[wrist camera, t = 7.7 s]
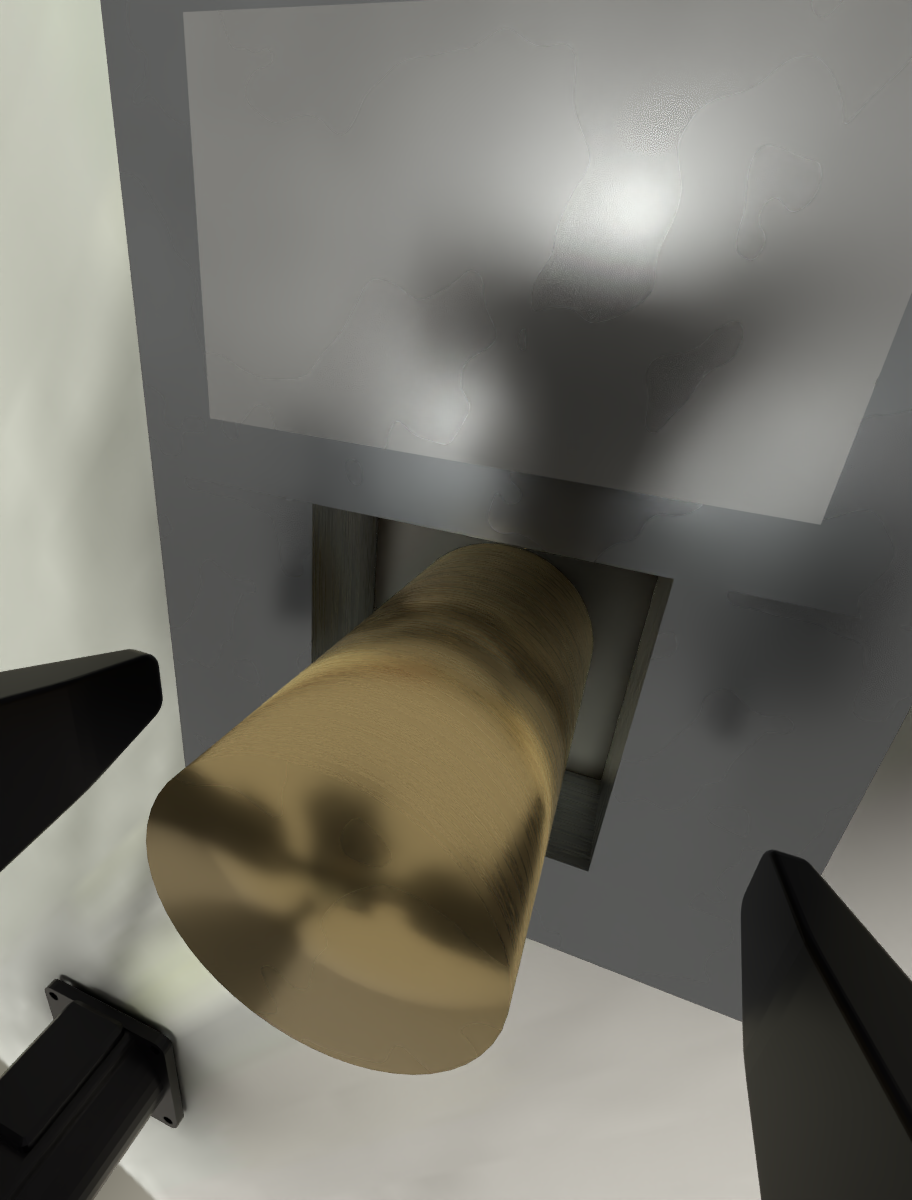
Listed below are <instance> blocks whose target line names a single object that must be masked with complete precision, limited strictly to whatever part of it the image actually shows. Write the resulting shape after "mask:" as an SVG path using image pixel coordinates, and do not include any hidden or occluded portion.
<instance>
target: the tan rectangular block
mask: <svg viewBox="0 0 912 1200" xmlns="http://www.w3.org/2000/svg"><path fill="white" fill-rule="evenodd" d="M592 652H593V632H592V625H591V621H590V618H589V614H588V611H587V609H586V607H585V604H584V602H583V600H582V598H581V597H580V595H579V593H578V592H577V590H576V589H575V587H574V586H573V585H572V584H571V582H570V581H569V580H568V579H567V578H566V577H565V576H564V575H563V574H562V573H561V572H560V571H559V570H558V569H557V568H555V567H554V566H553V565H551V564H550V563H549V562H547V561H546V560H544V559H542V558H541V557H539V556H537V555H535V554H533V553H531V552H528V551H526V550H524V549H521V548H517V547H513V546H510V545H503V544H488V543H483V544H475V545H469V546H465V547H462V548H459V549H456V550H454V551H451V552H449V553H447V554H446V555H444V556H442V557H441V558H439V559H438V560H437V561H435V562H434V563H433V564H432V565H430V566H429V567H428V568H427V569H426V570H424V571H423V572H422V573H421V574H420V575H418V576H417V577H416V578H415V579H413V580H412V581H411V582H410V583H409V584H407V585H406V586H405V587H404V588H403V589H401V590H400V591H399V592H398V593H397V594H395V595H394V596H393V597H392V598H390V599H389V600H388V601H387V602H386V603H384V604H383V605H382V606H381V607H380V608H378V609H377V610H376V611H375V612H373V613H372V614H371V615H370V616H369V617H367V618H366V619H365V620H364V621H363V622H361V623H360V624H359V625H358V626H357V627H355V628H354V629H353V630H352V631H350V632H349V633H348V634H347V635H346V636H344V637H343V638H342V639H341V640H340V641H338V642H337V643H336V644H335V645H334V646H332V647H331V648H330V649H329V650H327V651H326V652H325V653H324V654H323V655H321V656H320V657H319V658H318V659H317V660H315V661H314V662H313V663H312V664H310V665H309V666H308V667H307V668H306V669H304V670H303V671H302V672H301V673H300V674H298V675H297V676H296V677H295V678H294V679H292V680H291V681H290V682H289V683H287V684H286V685H285V686H284V687H283V688H281V689H280V690H279V691H278V692H277V693H275V694H274V695H273V696H272V697H271V698H269V699H268V700H267V701H266V702H264V703H263V704H262V705H261V706H260V707H258V708H257V709H256V710H255V711H254V712H252V713H251V714H250V715H249V716H247V717H246V718H245V719H244V720H243V721H241V722H240V723H239V724H238V725H237V726H235V727H234V728H233V729H232V730H231V731H229V732H228V733H227V734H226V735H224V736H223V737H222V738H221V739H220V740H218V741H217V742H216V743H215V744H214V745H212V746H211V747H210V748H209V749H208V750H206V751H205V752H204V753H203V754H201V755H200V756H199V757H198V758H197V759H195V760H194V761H193V762H192V763H191V764H189V765H188V766H187V767H186V768H184V769H183V770H182V771H181V772H180V773H178V774H177V775H176V776H175V777H174V778H172V779H171V780H170V781H169V782H168V783H167V784H166V785H165V786H164V788H163V789H162V790H161V792H160V793H159V794H158V796H157V798H156V800H155V802H154V804H153V806H152V808H151V812H150V816H149V820H148V824H147V837H146V845H147V856H148V862H149V866H150V871H151V875H152V879H153V881H154V884H155V887H156V890H157V893H158V895H159V898H160V900H161V902H162V904H163V906H164V908H165V910H166V912H167V914H168V916H169V918H170V919H171V921H172V923H173V925H174V926H175V928H176V930H177V931H178V933H179V934H180V936H181V937H182V938H183V940H184V941H185V943H186V944H187V946H188V947H189V948H190V950H191V951H192V952H193V953H194V955H195V956H196V957H197V958H198V960H199V961H200V962H201V963H202V964H203V966H204V967H205V968H206V969H207V970H208V971H209V972H210V973H211V974H212V975H213V976H214V977H215V978H216V980H217V981H218V982H219V983H221V984H222V985H223V986H224V987H225V988H226V989H227V990H228V991H229V992H230V993H231V994H232V995H233V996H234V997H236V998H237V999H238V1000H239V1001H240V1002H242V1003H243V1004H244V1005H245V1006H247V1007H248V1008H249V1009H250V1010H251V1011H253V1012H254V1013H255V1014H257V1015H258V1016H260V1017H261V1018H262V1019H264V1020H265V1021H267V1022H268V1023H269V1024H271V1025H272V1026H274V1027H276V1028H277V1029H279V1030H280V1031H282V1032H284V1033H285V1034H287V1035H288V1036H290V1037H292V1038H294V1039H295V1040H297V1041H299V1042H301V1043H303V1044H305V1045H307V1046H309V1047H310V1048H313V1049H315V1050H317V1051H319V1052H322V1053H324V1054H326V1055H328V1056H331V1057H333V1058H336V1059H339V1060H342V1061H344V1062H347V1063H350V1064H353V1065H357V1066H360V1067H364V1068H368V1069H372V1070H377V1071H383V1072H388V1073H396V1074H410V1075H416V1074H433V1073H438V1072H443V1071H449V1070H452V1069H455V1068H457V1067H460V1066H463V1065H466V1064H467V1063H469V1062H471V1061H472V1060H474V1059H476V1058H477V1057H479V1056H481V1055H482V1054H483V1053H484V1052H485V1051H486V1050H487V1049H488V1048H489V1047H490V1046H491V1045H492V1044H493V1043H494V1041H495V1040H496V1038H497V1037H498V1035H499V1034H500V1032H501V1031H502V1029H503V1026H504V1023H505V1020H506V1018H507V1015H508V1011H509V1007H510V1003H511V999H512V994H513V990H514V986H515V982H516V977H517V973H518V969H519V965H520V960H521V956H522V952H523V948H524V943H525V939H526V935H527V931H528V926H529V922H530V918H531V914H532V909H533V905H534V901H535V897H536V892H537V888H538V884H539V880H540V875H541V871H542V867H543V863H544V858H545V854H546V850H547V846H548V841H549V837H550V833H551V829H552V824H553V820H554V816H555V812H556V807H557V803H558V799H559V795H560V790H561V786H562V782H563V778H564V773H565V769H566V765H567V761H568V756H569V752H570V748H571V744H572V739H573V735H574V731H575V727H576V722H577V718H578V714H579V710H580V705H581V701H582V697H583V693H584V688H585V684H586V680H587V676H588V671H589V667H590V663H591V658H592Z"/></svg>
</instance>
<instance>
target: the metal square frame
mask: <svg viewBox="0 0 912 1200" xmlns="http://www.w3.org/2000/svg"><path fill="white" fill-rule="evenodd" d="M100 1H101V10H102V19H103V28H104V37H105V46H106V55H107V64H108V73H109V82H110V91H111V100H112V109H113V118H114V127H115V136H116V145H117V154H118V163H119V172H120V181H121V190H122V199H123V208H124V217H125V226H126V235H127V244H128V253H129V262H130V271H131V280H132V289H133V298H134V307H135V316H136V325H137V334H138V343H139V352H140V361H141V370H142V379H143V388H144V397H145V406H146V415H147V424H148V433H149V442H150V451H151V460H152V469H153V478H154V487H155V496H156V505H157V514H158V523H159V532H160V541H161V550H162V559H163V568H164V577H165V586H166V595H167V604H168V613H169V623H170V632H171V641H172V650H173V659H174V668H175V677H176V686H177V695H178V704H179V713H180V722H181V731H182V740H183V749H184V758H185V767H187V766H188V765H189V764H191V763H192V762H193V761H194V760H195V759H197V758H198V757H199V756H200V755H201V754H203V753H204V752H205V751H206V750H208V749H209V748H210V747H211V746H212V745H214V744H215V743H216V742H217V741H218V740H220V739H221V738H222V737H223V736H224V735H226V734H227V733H228V732H229V731H231V730H232V729H233V728H234V727H235V726H237V725H238V724H239V723H240V722H241V721H243V720H244V719H245V718H246V717H247V716H249V715H250V714H251V713H252V712H254V711H255V710H256V709H257V708H258V707H260V706H261V705H262V704H263V703H264V702H266V701H267V700H268V699H269V698H271V697H272V696H273V695H274V694H275V693H277V692H278V691H279V690H280V689H281V688H283V687H284V686H285V685H286V684H287V683H289V682H290V681H291V680H292V679H294V678H295V677H296V676H297V675H298V674H300V673H301V672H302V671H303V670H304V669H306V668H307V667H308V666H309V665H310V664H312V663H313V662H314V661H315V660H317V659H318V658H319V657H320V656H321V655H323V654H324V653H325V652H326V651H327V650H329V649H330V648H331V647H332V646H334V645H335V644H336V643H337V642H338V641H340V640H341V639H342V638H343V637H344V636H346V635H347V634H348V633H349V632H350V631H352V630H353V629H354V628H355V627H357V626H358V625H359V624H360V623H361V622H363V621H364V620H365V619H366V618H367V617H369V616H370V615H371V614H372V613H373V605H374V587H375V569H376V551H377V533H378V517H380V518H384V519H389V520H394V521H399V522H404V523H408V524H413V525H418V526H423V527H428V528H432V529H437V530H442V531H447V532H451V533H456V534H461V535H466V536H471V537H475V538H480V539H485V540H490V541H495V542H499V543H504V544H509V545H514V546H518V547H523V548H528V549H533V550H538V551H542V552H547V553H552V554H557V555H562V556H566V557H571V558H576V559H581V560H585V561H590V562H595V563H600V564H605V565H609V566H614V567H619V568H624V569H628V570H633V571H638V572H643V573H648V574H652V575H657V576H658V579H657V582H656V586H655V589H654V593H653V597H652V600H651V604H650V607H649V611H648V614H647V618H646V622H645V625H644V629H643V632H642V636H641V639H640V643H639V647H638V650H637V654H636V657H635V661H634V664H633V668H632V672H631V675H630V679H629V682H628V686H627V689H626V693H625V697H624V700H623V704H622V707H621V711H620V714H619V718H618V722H617V725H616V729H615V732H614V736H613V739H612V743H611V747H610V750H609V754H608V757H607V761H606V764H605V768H604V772H603V775H602V779H601V781H600V780H596V779H593V778H590V777H587V776H583V775H580V774H577V773H574V772H570V771H567V770H565V773H564V778H563V782H562V786H561V790H560V795H559V799H558V803H557V807H556V812H555V816H554V820H553V824H552V829H551V833H550V837H549V841H548V846H547V850H546V854H545V858H544V863H543V867H542V871H541V875H540V880H539V884H538V888H537V892H536V897H535V901H534V905H533V909H532V914H531V918H530V922H529V926H528V931H527V935H526V938H529V939H531V940H534V941H536V942H539V943H541V944H544V945H547V946H549V947H552V948H554V949H557V950H559V951H562V952H565V953H567V954H570V955H572V956H575V957H577V958H580V959H582V960H585V961H588V962H590V963H593V964H595V965H598V966H600V967H603V968H606V969H608V970H611V971H613V972H616V973H618V974H621V975H623V976H626V977H629V978H631V979H634V980H636V981H639V982H641V983H644V984H647V985H649V986H652V987H654V988H657V989H659V990H662V991H664V992H667V993H670V994H672V995H675V996H677V997H680V998H682V999H685V1000H688V1001H690V1002H693V1003H695V1004H698V1005H700V1006H703V1007H705V1008H708V1009H711V1010H713V1011H716V1012H718V1013H721V1014H723V1015H726V1016H729V1017H731V1018H734V1019H736V1020H739V1021H741V1022H742V969H741V905H742V900H743V897H744V894H745V892H746V889H747V887H748V885H749V883H750V881H751V879H752V876H753V874H754V872H755V870H756V868H757V866H758V863H759V861H760V859H761V857H762V855H763V854H764V853H765V852H766V851H767V850H771V849H774V850H778V851H781V852H784V853H787V854H790V855H794V856H797V857H800V858H803V859H805V860H806V861H808V862H809V863H810V864H811V865H812V866H813V867H814V868H815V870H816V871H817V872H818V873H819V874H820V875H821V874H822V872H823V870H824V868H825V867H826V865H827V863H828V861H829V859H830V857H831V855H832V854H833V852H834V850H835V848H836V846H837V844H838V842H839V840H840V839H841V837H842V835H843V833H844V831H845V829H846V827H847V826H848V824H849V822H850V820H851V818H852V816H853V814H854V812H855V811H856V809H857V807H858V805H859V803H860V801H861V799H862V798H863V796H864V794H865V792H866V790H867V788H868V786H869V784H870V783H871V781H872V779H873V777H874V775H875V773H876V771H877V770H878V768H879V766H880V764H881V762H882V760H883V758H884V756H885V755H886V753H887V751H888V749H889V747H890V745H891V743H892V741H893V740H894V738H895V736H896V734H897V732H898V730H899V728H900V727H901V725H902V723H903V721H904V719H905V717H906V715H907V713H908V712H909V710H910V708H911V706H912V0H100Z"/></svg>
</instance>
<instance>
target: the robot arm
mask: <svg viewBox="0 0 912 1200" xmlns="http://www.w3.org/2000/svg"><path fill="white" fill-rule="evenodd" d="M162 701H163V696H162V688H161V680H160V672H159V665H158V661H157V660H156V658H155V657H154V656H152V655H150V654H147V653H144V652H141V651H137V650H133V649H127V650H121V651H116V652H110V653H104V654H99V655H93V656H87V657H82V658H76V659H71V660H65V661H59V662H54V663H48V664H42V665H37V666H31V667H26V668H20V669H14V670H9V671H3V672H0V872H1V871H2V870H3V869H4V868H5V867H6V866H7V865H9V864H10V863H11V862H12V861H13V860H14V859H15V858H16V857H17V856H18V855H19V854H20V853H21V852H22V851H24V850H25V849H26V848H27V847H28V846H29V845H30V844H31V843H32V842H33V841H34V840H35V839H36V838H37V837H39V836H40V835H41V834H42V833H43V832H44V831H45V830H46V829H47V828H48V827H49V826H50V825H51V824H52V823H53V822H55V821H56V820H57V819H58V818H59V817H60V816H61V815H62V814H63V813H64V812H65V811H66V810H67V809H68V808H70V807H71V806H72V805H73V804H74V803H75V802H76V801H77V800H78V799H79V798H80V797H81V796H82V795H83V794H84V793H85V792H86V791H87V790H88V789H89V788H90V787H91V786H92V785H93V784H94V783H95V782H96V781H97V780H98V779H99V778H100V777H101V775H102V774H103V773H104V772H105V771H106V770H107V769H108V768H109V767H110V766H111V764H112V763H113V762H114V761H115V760H116V759H117V758H118V757H119V756H120V754H121V753H122V752H123V751H124V750H125V749H126V748H127V747H128V746H129V745H130V743H131V742H132V741H133V740H134V739H135V738H136V737H137V736H138V735H139V734H140V732H141V731H142V730H143V729H144V728H145V727H146V726H147V725H148V724H149V723H150V721H151V720H152V719H153V718H154V717H155V716H156V715H157V713H158V712H159V710H160V708H161V705H162ZM741 969H742V1025H743V1052H744V1062H745V1073H746V1082H747V1090H748V1098H749V1106H750V1114H751V1122H752V1130H753V1138H754V1146H755V1154H756V1162H757V1170H758V1178H759V1186H760V1194H761V1200H912V981H911V980H910V978H909V977H908V976H907V975H906V974H905V973H904V972H903V970H902V969H901V968H900V967H899V966H898V965H897V963H896V962H895V961H894V960H893V959H892V958H891V956H890V955H889V954H888V953H887V952H886V951H885V950H884V948H883V947H882V946H881V945H880V944H879V943H878V941H877V940H876V939H875V938H874V937H873V936H872V934H871V933H870V932H869V931H868V930H867V929H866V927H865V926H864V925H863V924H862V923H861V922H860V921H859V919H858V918H857V917H856V916H855V915H854V914H853V912H852V911H851V910H850V909H849V908H848V907H847V905H846V904H845V903H844V902H843V901H842V900H841V899H840V897H839V896H838V895H837V894H836V893H835V892H834V890H833V889H832V888H831V887H830V886H829V885H828V883H827V882H826V881H825V880H824V879H823V878H822V877H821V875H820V874H819V873H818V872H817V871H816V870H815V868H814V867H813V866H812V865H811V864H810V863H809V862H808V861H806V860H805V859H803V858H800V857H797V856H794V855H790V854H787V853H784V852H781V851H778V850H774V849H771V850H767V851H766V852H765V853H764V854H763V855H762V857H761V859H760V861H759V863H758V866H757V868H756V870H755V872H754V874H753V876H752V879H751V881H750V883H749V885H748V887H747V889H746V892H745V894H744V897H743V900H742V905H741ZM45 993H46V996H47V999H48V1003H49V1006H50V1009H51V1012H52V1016H53V1019H54V1020H53V1021H52V1022H51V1023H50V1024H49V1025H48V1027H47V1028H46V1029H45V1030H44V1031H43V1032H42V1033H41V1034H40V1035H39V1036H38V1037H37V1038H36V1039H35V1040H34V1041H33V1042H32V1044H31V1045H30V1046H29V1047H28V1048H27V1049H26V1050H25V1051H24V1052H23V1053H22V1054H21V1055H20V1056H19V1057H18V1058H17V1060H16V1061H15V1062H14V1063H13V1064H12V1065H11V1066H10V1067H9V1068H8V1069H7V1070H6V1071H5V1072H4V1073H3V1075H2V1076H1V1077H0V1200H93V1199H94V1198H95V1197H96V1195H97V1194H98V1192H99V1191H100V1189H101V1188H102V1186H103V1185H104V1183H105V1182H106V1181H107V1179H108V1177H109V1176H110V1175H111V1173H112V1172H113V1170H114V1169H115V1167H116V1166H117V1164H118V1163H119V1162H120V1160H121V1159H122V1157H123V1156H124V1154H125V1153H126V1151H127V1150H128V1148H129V1147H130V1146H131V1144H132V1143H133V1141H134V1140H135V1138H136V1137H137V1135H138V1134H139V1132H140V1131H141V1129H142V1128H143V1127H144V1125H145V1124H146V1122H147V1121H148V1119H149V1118H150V1116H152V1117H154V1118H156V1119H158V1120H159V1121H161V1122H163V1123H165V1124H166V1125H168V1126H170V1127H172V1128H176V1127H177V1126H178V1125H179V1123H180V1122H181V1120H182V1118H183V1117H184V1113H183V1107H182V1101H181V1095H180V1089H179V1083H178V1077H177V1071H176V1065H175V1059H174V1053H173V1047H172V1044H171V1042H170V1040H169V1039H168V1038H167V1037H166V1036H165V1035H163V1034H162V1033H160V1032H158V1031H156V1030H154V1029H153V1028H151V1027H149V1026H147V1025H145V1024H143V1023H141V1022H139V1021H137V1020H135V1019H133V1018H132V1017H130V1016H128V1015H126V1014H124V1013H122V1012H120V1011H118V1010H116V1009H114V1008H112V1007H111V1006H109V1005H107V1004H105V1003H103V1002H101V1001H99V1000H97V999H95V998H93V997H91V996H90V995H88V994H86V993H84V992H82V991H80V990H78V989H76V988H74V987H72V986H70V985H69V984H67V983H65V982H63V981H61V980H58V979H54V980H53V981H52V982H51V983H50V984H49V985H48V986H47V987H46V989H45Z"/></svg>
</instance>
